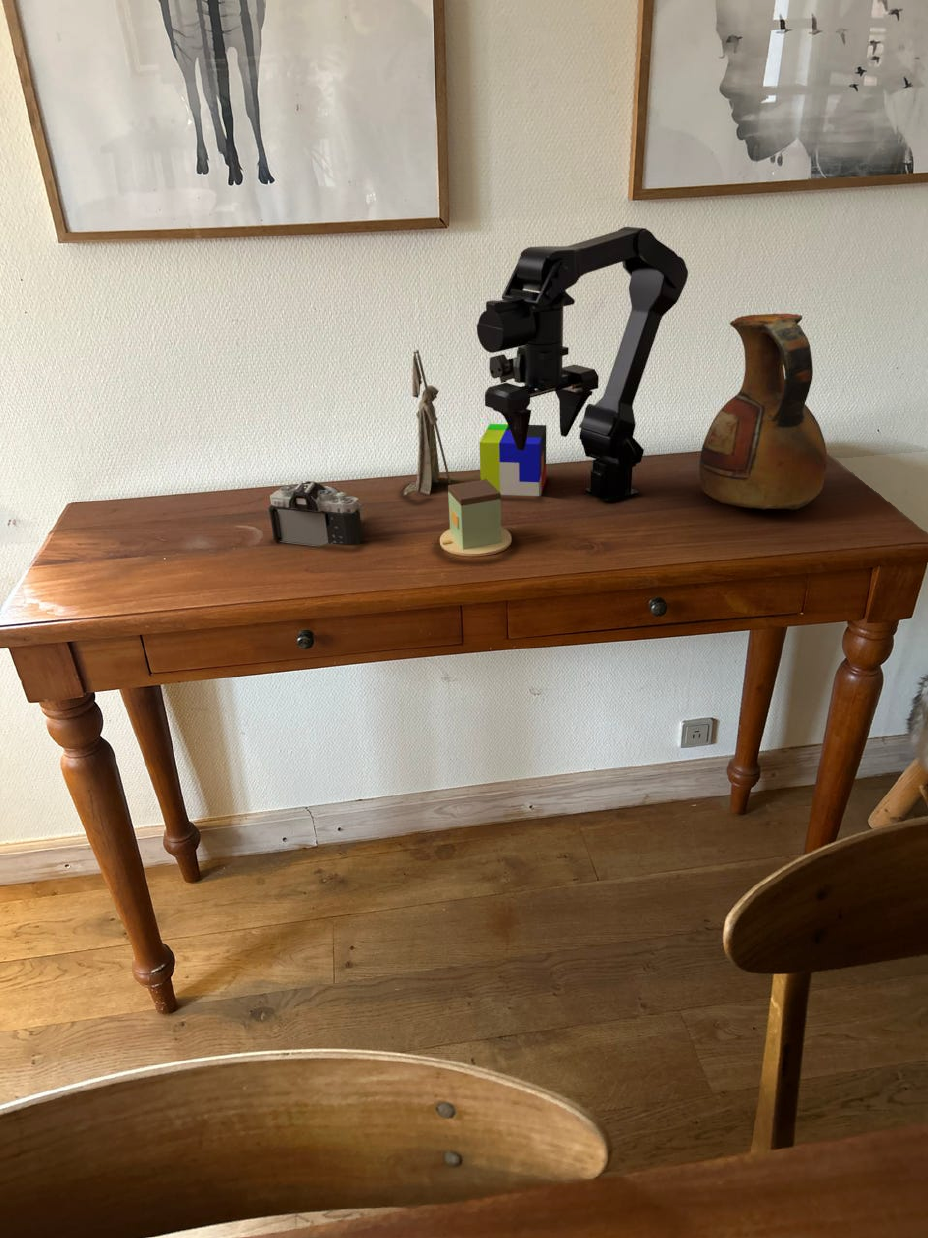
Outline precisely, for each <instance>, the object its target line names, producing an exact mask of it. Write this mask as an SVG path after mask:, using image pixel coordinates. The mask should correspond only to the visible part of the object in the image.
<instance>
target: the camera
mask: <svg viewBox="0 0 928 1238" xmlns="http://www.w3.org/2000/svg"><path fill="white" fill-rule="evenodd" d="M269 499H270V506H269V507H268V512H269V518H270V519H269V520H270V524H271V530H272V539H273V541H276V542H279V543H286V544H292V545H293V544H294V545H302V546H309V547H318V548H321V547H322V546H324V545H326V544H333V545H340V546H357V545H358V544H359V543H360V542H361V541H362V540H363V539H364V538H363V529H362V519H361V512H362V511H361V509H362V507H363V504H362V503H360V502H359V498H357V497H356V496H349V495H347V493H346V492H343V491H340V490H339V489H337V488H335V487H334V486H332V485H323V484H322V483H319V482H316V481H313V480H306V481H305V482H304V481H303V480H302V481H300V482H299V483H298V484H297V485H296V486H294V485H284V486H281V487H280V488H279V489H278V490H276V491H274V492H273V493H272V494H270V495H269Z"/></svg>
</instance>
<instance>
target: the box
mask: <svg viewBox="0 0 928 1238" xmlns="http://www.w3.org/2000/svg"><path fill="white" fill-rule="evenodd" d="M447 491H448V492H447V494H448V495H447V496H448V497H447V498H448V514H449V515H448V516H449V529H447V530H445V531H443V533H442V534H441V535H440V537H439V544H440V546H441V548H442V549H443V550H444V551H445V552H448V553H450V554H453V555H455V556H462V557H471V558H473V557H487V556H490V555H495V554H498V553H501V552H503V551H505V550H506V549H507V548H509V547H510V546H511V544H512V540H513V539H512V534H511V533H510V532H509V530H507V529H506V528H504V527H502V500H501V499H502V497H501V496H502V495H501V493H500V492H499V491H498V490H497V489H496V488H495V487H494V486H493V485H492V484H491V483H490V482H489V481H488V480H487V479H484V480H481V479H479V480H471V481H466V482H459V483H454V484H451V485H450V484H448V485H447Z"/></svg>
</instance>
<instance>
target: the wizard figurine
mask: <svg viewBox="0 0 928 1238" xmlns="http://www.w3.org/2000/svg"><path fill="white" fill-rule="evenodd" d="M412 353H413V356H412V370H411V371H412V372H411V373H412V374H411V375H412V376H411V380H412V382H411V385H412V388H411V389H412V390H411V395H412V397H413V398H417V399H418V398H419V396H420V395H421V400H420V401H419V404H418V405H419V406H418V411H417V412H416V418H417V420H418V429H417V430H418V431H417V432H418V433H417V435H418V457H417V458H418V459H417V472H416V481H413V482H411V483H410V484H409V485H407V486H406V488H405V489H404V491H403V496H407V495H408V494H410V493H411V492H413V491H415V492H417V493H422V494H425V495H431V489H432V483H438V482H439V480H438V478H440V474H441V473H440V466H439V456H438V446H437V443H438V445H439V449H440V454H441V458H442V462H443V465H444V469H445V474H446V477H447V478H446V479H447V481H448V485H452V482H451V477H450V473H449V467H448V465H447V461H446V456H445V453H444V447H443V444H442V441H441V436H440V432H439V428H438V423H437V421H438V417H437V414H436V407H435V405H434V403H433V402H434V401H435V400H436V399H437V398H438V394H439V392H440V391H439V390H438V388H437V387H436V386H434V385H431V384H430V385H428V383H427V378H426V375H425V371H424V366H423V363H422V359H421V358H422V357H421V355H420V350H419V349H416V350H415V351H413V352H412ZM422 383H423V385H424V389H423V391H422V393H421V385H422ZM436 436H437V437H436ZM436 438H437V439H436ZM437 441H438V442H437Z"/></svg>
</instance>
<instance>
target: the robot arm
mask: <svg viewBox="0 0 928 1238" xmlns="http://www.w3.org/2000/svg"><path fill="white" fill-rule="evenodd" d="M620 263H622V268H623V269H624V270H625V272H626V273H627V274H628V275H629V276H630V280H629V285H628V293H629V299H630V305H631V310H630V313H629V316H628V319H627V323H626V325H625V328H624V332H623V333H622V334H623V335H622V338H621V341H620V344H619V347H618V350H617V353H616V357H615V360H614V362H613V365H612V368H611V372H610V375H609V377H608V381H607V384H606V386H605V390H604V393H603V395H602V397H601V398H600V399H599V400H598V401H597V402H596V403H595V404H592V403H588V404H587V405H586V407H585V409H584V414H583V418H582V420H581V422H580V424H579V426H578V428H580V431H579V440H580V442H581V445H582V449H583V451H584V454H585V455H584V456H585V457H587V458H591V459H593V460H592V468H591V470H590V479H589V482H590V483H589V488H585V493H586V494H590V495H591V496H593V497H595V498H597V499H600V500H601V501H604V502H606V503H611V504H612V503H614V502H617V501H620V500H624V499H628V498H631V497H634V496H637V495H638V491H637V490H635V489H633V488H632V485H633V471H634V470H633V468H635V467H636V466H637V464H639V463H641V462H642V458H643V456H644V453H645V449H644V448H643V447H642V446H641V444H639V442H638V441H637V440H636V439H635V437H634V435H635V429H636V418H635V413H634V407H633V405H634V402H635V399H636V396H637V393H638V390H639V387H640V384H641V381H642V377H643V375H644V372H645V369H646V366H647V363H648V360H649V357H650V354H651V351H652V348H653V345H654V343H655V340H656V335H657V333H658V330H659V327H660V324H661V322H662V319H663V317H664V316H665V315H666V314H667V313H668V312H669V311H670V310H671V309H672V308H673V307H674V306H675V305H676V304H677V303H678V301H679V299H680V297H681V296H682V293H683V291H684V289H685V286H686V283H687V281H688V277H689V269H688V267H687V264H686V262H685V260H684V258H683V257H681V256H679V254H678V253H676V252H675V251H674V250H673V249H671V248H670V247H668V246H667V245H665V244H664V243H663V242H662V241H660V240H659V239H657V238H656V236H655V235H654V234H653V232H651V231H650V230H649V229H647V228H645V227H635V226H624V227H621V228H619V229H618V230H616V231H613V232H609V233H606V234H602V235H600V236H596V237H593V238H590V239H586V240H582V241H579V242H576V243H574V244H570V245H563V246H559V245H558V246H557V245H556V246H553V245H545V246H544V245H541V246H529V247H526V248H525V249H523V250H522V251H521V252H520V256H519V258H518V260H517V263H516V266H515V268H514V269H513V272H512V274H511V276H510V278H509V280H508V281H507V284H506V286H505V288H504V290H503V293H502V295H501V299H500V300H495V299H492V300H487V301H486V302H485V311H483V312H482V313H481V314H480V316H479V318H478V322H477V324H476V335H477V338H478V341H479V344H480V345H481V346H482V347H481V348H483V349H484V350H485V351H486V352H488V353H490V354H493V353H499V352H503V351H506V350H511V349H515V348H517V349H516V356H515V357H512V358H508V357H507V356H506V355H505V354H504V353H501V354H499V355H494V356H491V357H489V372H490V376H491V378H492V379H493V380H494V379H495V380H496V379H499V381H500V383H499V384H495V385H492V386H489V387H487V389H486V391H485V392H484V407H486V408H491V409H492V410H493V411H495V412H496V413H500V414H501V415H502V416H503V418H504V419H505V422H506V424H508V426H509V428H510V431H511V433H512V436H513V439H514V441H515V444H516V447H517V449H518V450H520V451H523V450H524V448H525V444H526V439H527V433H528V427H529V425H530V421H531V416H532V409H530V408H529V409H528V407H529V405H530V404H531V398H535V397H539V396H542V395H546V394H549V393H553V392H554V393H555V395H556V397H557V399H558V402H559V403H558V405H559V412H558V413H559V431H560V432H559V433H560V436H561V437H564V438H566V437H568V435H569V433H570V431H571V429H572V428H573V425H574V424H575V422H576V420H577V418H578V416H579V414H580V412H581V410H582V409H583V407H584V406H585V404H586V402H587V401H588V399H589V397H590V396H593V392H594V390H597V389H599V381H600V380H599V379H600V376H599V374H598V372H597V371H596V369H595V368H590V367H586V366H583V365H578V364H570V365H567V366H563V356H568V355H569V354H570V353H569V352H570V351H569V350H570V348H569V347H568V346H564V308H565V307H568V306H572V305H574V304H575V303H576V300H575V299H574V298H573V297H572V296H571V295H570V294H569V293H568V292H567V291H566V290H568V289H570V288H572V287H573V286H575V285H576V284H577V283H578V282H579V280H580V278H581V277H583V276H584V275H586V274H589V273H592V272H595V271H599V270H601V269H605V268H607V267H611V266H613V265H616V264H620ZM510 380H514V382H515V383H517V384H523V386H522V385H521V386H519V385H516V384H512V383H508V382H507V381H510Z"/></svg>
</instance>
